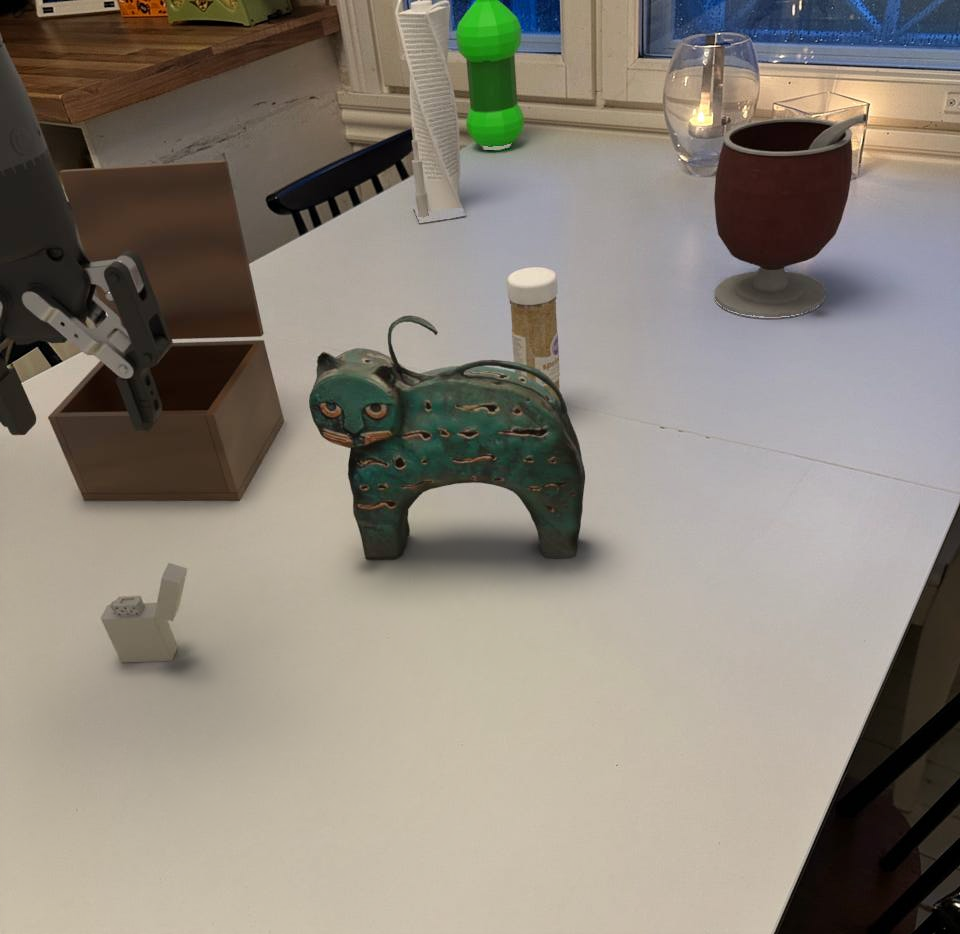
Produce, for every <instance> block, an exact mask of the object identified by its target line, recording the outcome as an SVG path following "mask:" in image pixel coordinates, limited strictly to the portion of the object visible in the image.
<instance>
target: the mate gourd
mask: <svg viewBox="0 0 960 934" xmlns="http://www.w3.org/2000/svg"><path fill="white" fill-rule="evenodd" d="M867 122H868V114H867V113H861V114H859V115H854V116H852V117H850V118H847V119H845V120H842V121H840V122H836V121H831V120H828V119H827V120H826V119H821V118H812V117H811V118H809V117H782V118H781V117H779V118H770V119H762V120H757V121H752V122H747V123H744V124H743V123H742V124H740V125H737V126H734V127H732V128H731V129H729V130H728V131H726V132H725V134H724V135H723V142H722V146H721V149H720V153H719V156H718V162H717V166H716V171H715V181H714V195H713V196H714V197H713V201H714V214H715V224H716V231H717V235H718V237H719V238H720V240H721V242H722V243H723V244H724V246H725V247H726V249H727V250H728V252H729V254H730V255H731V256H732V257H734V259H737V260H739V261H742V262H743V263H747V264H751V265H754V266H757V267H759V269H758V270H755V271H754V270H753V271H748V272H743V273H738V274H735V275H732V276H730V277H727V278H725V279H724V280H722V281H721V282H719V283H718V284H717V286H716V287H715V289H714V301H715V303H716V305H717V306H718V307H719V308H721V309H722V310H724V311H726V312H728V313H730V314H733V315H736V316H740V317H745V318H750V319H758V320H759V319H760V320H780V319H790V318H795V317H799V316H802V315H805V314H806V315H807V314H809V313H811V312H813V311H816V310H817V309H818V308H819V307H821V306H822V304H823V303H824V302H825V299H826V288H825V286H824V285H823V284H822V283H821V282H820V281H818V280H817V279H815V278H813V277H811V276H809V275H806V274H802V273H798V272H793V271H787V270H786V267H789V266H793V265H796V264H800V263H803V262H806V261H809V260H811V259H814V258H815V257H816V256H818V255H819V254H820V252H821V251H822V250H823V249H824V248H825V247H826V246H827V244H829V243H830V241H832V239H833V238H834V237H835V236H836V234H837V231H838V229H839V227H840V225H841V222H842V219H843V216H844V212H845V209H846V205H847V202H848V199H849V194H850V186H851V180H852V175H853V143H852V137H853V131H852V130H851V128H852V127H854V126H856V125H858V124H865V123H867ZM715 299H716V300H715ZM823 300H824V301H823ZM716 301H717V302H718V303H719V304H720V305H721V306H722V307H724V308H726V309H728V310H730V311H733V312H737V313H739V314H736V313H733V312H730V311H728V310H726V309H724V308H722V307H721V306H720V305H719V304H718V303H717V302H716ZM821 303H822V304H821ZM820 304H821V305H820ZM818 305H820V306H818ZM817 306H818V307H817ZM816 307H817V308H816ZM814 308H815V309H814ZM812 309H813V310H812ZM810 310H811V311H810ZM807 311H809V312H807ZM805 312H806V313H805ZM801 313H803V314H801ZM740 314H745V315H752V316H753V315H755V316H764V317H781V316H790V317H781V318H759V317H750V316H744V315H740ZM796 314H800V315H796ZM791 315H795V316H791Z"/></svg>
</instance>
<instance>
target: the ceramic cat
mask: <svg viewBox="0 0 960 934" xmlns="http://www.w3.org/2000/svg"><path fill="white" fill-rule="evenodd" d="M401 323H413V324H416V325H419V326H421V327H424V328H425V329H426V330H428V331H430V332H432V333H433V335H435V336H437V335H438V333H439V332H438V330H437V329H436V327H435V326H434V325H433V324H432V323H431V322H430V321H428V320H427V319H425V318H424V317H423V318H422V317H420V316H416V315H403V316H400V317H398V318H397V319H395V320H394V321H393V322H392V323H390V326H389V328H388V332H387V347H388V352H389V355H387V354H385V353H382V352H381V351H378V350H374V349H369V348H364V347H363V348H362V347H361V348H360V347H356V348H353V349H349V350H345V351H344V352H342V353H340V354H339V355H337V356H333V355H332V354H330V353H329V352H326V351H322V352H321V353H320V354H319V355H318V356H317V359H316V378H315V381H314V384H313V386H312V389H311V391H310V393H309V399H308V405H309V411H310V414H311V418H312V421H313V423H314V425H315V426H316V428H317V430H318V432H319V435H320V436H321V437H322V438H323V439H325V440H326V441H328V442H329V443H331V444H334V445H337V446H341V447H345V448H347V449H350V450H349V451H350V452H349V457H348V462H347V478H348V481H349V486H350V490H351V494H352V514H353V517H354V519H355V523H356V524H357V528H358V530H359V534H360V539H361V544H362V548H363V553H364V559H366V560H396V559H398V558H399V557H400V556H402V555H403V554H404V552H405V551H406V548H407V543H408V539H409V537H410V536H411V535H410V533H411V531H410V530H411V529H410V528H411V527H410V523H409V509H410V508H411V507H412V505H413V504H414V503H415V502H416V500H417V499H418V498H419V497H420V496H421V495H422V494H423V493H425V492H428V491H430V490H433V489H437V488H443V487H448V486H452V485H458V484H472V483H474V484H484V485H485V484H486V485H492V486H495V487H500V488H503V489H506V490H508V491H510V492H513V493H514V494H515V495H516V496H517V497H518V498H519V499H520V501H521V502H522V504H523V505H524V508H526V510H527V511H528V513H529V515H530V518H531V520H532V522H533V524H534V526H535V529H536V531H537V532H536V533H537V537H538V543H539V550H540V553H541V555H542V556H543V557H545V558H550V559H565V558H572V557H576V555H577V554H578V547H579V539H580V532H581V526H582V516H583V507H584V506H583V505H584V492H585V485H586V470H585V465H584V462H583V457H582V450H581V445H580V441H579V439H578V436H577V433H576V431H575V428H574V425H573V423H572V421H571V418H570V416H569V414H568V409H567V405H566V402H565V399H564V397H563V395H562V393H561V391H559V389H558V388H557V386H556V385H555V383H554V382H553V381H552V380H551V379H550V378H549V377H548V376H547V375H545V374H544V373H543V372H541V371H540V370H538V369H536V368H533V367H530V366H527V365H524V364H520V363H515V362H514V361H510V360H499V359H482V360H476V361H472V362H468V363H464V364H462V365H453V366H445V367H440V368H435V369H432V370H428V371H423V372H416V371H412V370H410V369H407V368H405V366H403V365H402V364H401V363H399V361H398V358H397V356H396V353H395V351H394V348H393V345H392V333H393V331H394V329H395V328H396V326H398V325H400V324H401ZM498 367H500V368H498ZM503 368H504V369H503ZM513 370H514V371H513ZM515 370H519V371H524V372H527V373H529V374H531V375H533V376H535V377H537V378H539V379H540V380H541V381H543V382H544V383H545V384H547V385H548V386H549V387H550V388H551V389H552V390H553V391H554V392H555V393H556V395H557V397H558V398H559V401H560V402H559V401H558V399H557V398H556V397H555V396H554V395H553V394H551V393H550V392H549V391H548V390H547V389H546V388H545V387H543V386H542V385H540V384H538V383H537V382H535V381H533V380H532V379H530V378H528V377H527V376H524V375H522V374H519V373H517V372H515Z"/></svg>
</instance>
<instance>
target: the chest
mask: <svg viewBox="0 0 960 934" xmlns="http://www.w3.org/2000/svg"><path fill="white" fill-rule="evenodd" d="M266 347H267V346H266V343H265V340H264V339H257V340H225V341H224V340H222V341H189V342H187V341H186V342H173V344H172V347H171V348H170V349H169V350H168V352H167V353H166V354H165V355H164V356H163V358H162V359H161V360H160V361H159V362H158V364H157V365H156V366H155V367H152V368H150V371H151V374H152V377H153V380H154V382H155V385H156V388H157V391H158V394H159V397H160V400H161V402H162V412H161V413H160V414H159V416H158V419H157V421H156V422H155V424H154V425H153V426H152V428H151V429H150V430H149V431H147V432H137V431H135V429H134V427H133V425H132V422H131V419H130V417H129V414H128V411H127V409H126V406H125V403H124V401H123V398H122V395H121V393H120V390H119V387H118V385H117V382H116V379H117V378H118V377H119V376H118V375H117V374H116V373H114V372H113V371H112V370H111V369H110V368H109V367H107V366H106V365H105V364H104V363H103V362H102V361H100V360H99V361H98V362H97V364H96V365H95V366H94V367H93V368H92V369H91V370H90V371H89V372H88V373H87V374H86V375H85V377H83V378H82V380H81V381H80V382H79V383H78V384H77V385H76V386H75V387H74V388H73V389H72V391H71V392H70V393H69V394H68V395H67V396H66V397H65V398H64V399H63V400H62V401H61V403H59V404H58V405H57V406H56V407H55V408H54V409H53V411H52V412H51V413H50V414H49V415H48V416H47V419H48V420H49V424H50V426H51V428H52V430H53V432H54V435H55V438H56V439H57V442H58V445H59V447H60V449H61V451H62V453H63V456H64V458H65V460H66V463H67V465H68V467H69V469H70V472H71V474H72V476H73V479H74V481H75V483H76V486H77V488H78V491H79V493H80V495H81V498H82V500H83V501H240V500H241V498H242V497H243V495H244V493H245V492H246V489H247V488H248V486H249V485H250V483H251V481H252V479H253V478H254V475H255V473H257V470H258V468H259V466H260V465H261V463H262V461H263V460H264V458H265V456H266V454H267V452H268V451H269V449H270V447H271V445H272V443H273V442H274V439H275V438H276V436H277V435H278V433H279V431H280V429H281V427H282V426H283V424H284V422H285V417H284V415H283V411H282V406H281V402H280V398H279V394H278V391H277V387H276V386H277V385H276V383H275V379H274V375H273V371H272V366H271V363H270V358H269V355H268V351H267V348H266Z"/></svg>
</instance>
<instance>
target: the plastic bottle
mask: <svg viewBox="0 0 960 934" xmlns="http://www.w3.org/2000/svg"><path fill="white" fill-rule="evenodd" d="M455 38H456V45H457V48H458V52H459V53H460V55H461V56H463V58H464V59H465V61H466V71H467V72H466V73H467V84H468V94H469V105H470V106H469V107H470V108H469V111H468V113H467V117H466V121H465V124H466V130H467V133H468V135H469V137H470V138H471V140H472V141H473V142H475V143H476V144H477V145H478V144H479V145H482V146H488V147H493V146H504V145H507V144H511V143H513V142H514V141H515V142H516V141H517V139H518V138H519V137H520V136H521V134H522V132H523V130H524V126H525V116H524V112H523V110H522V108H521V107H520V105H519V104H518V93H517V75H516V74H517V73H516V60H515V59H516V58H515V54H516V53H517V51H518V50H519V48H520V47H521V43H522V26H521V24H520V21H519V18H518V17H517V16H516V15H515V13H513V12H512V11H511V10H510V9H509V8H508V7H507V6H506V5H504V3H502V2H501V1H500V0H475V1H474V3H472V5H471V6H470V7H469V8H468V10H466V12H465V14H464V15H463V16H462V18H461V19H460V20H459V22H458V24H457V28H456V32H455ZM515 142H514V143H515ZM514 143H513V144H514ZM513 144H512V145H511V146H510V147H509V148H506V149H503V150H494V151H493V152H501V151H502V152H503V151H505V150H509V149H510V148H512V146H513ZM479 145H478V146H479Z"/></svg>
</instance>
